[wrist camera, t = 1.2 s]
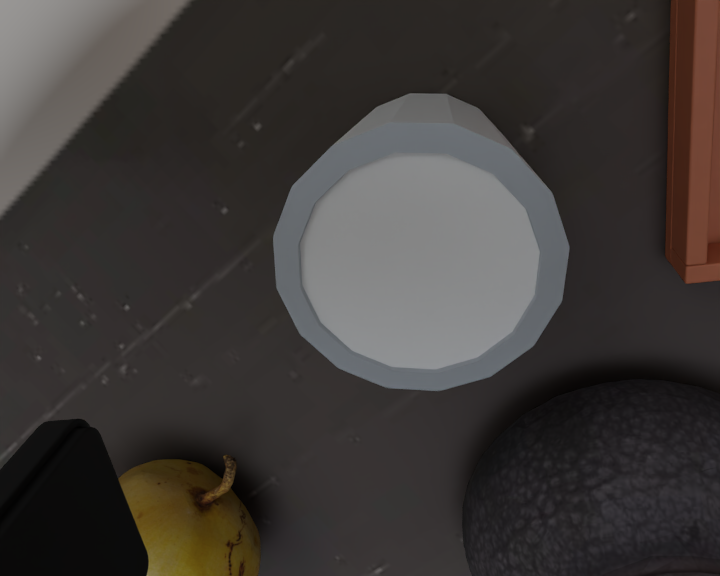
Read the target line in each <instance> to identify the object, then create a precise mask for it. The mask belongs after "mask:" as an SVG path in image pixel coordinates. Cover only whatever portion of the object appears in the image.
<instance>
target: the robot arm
mask: <svg viewBox="0 0 720 576" xmlns="http://www.w3.org/2000/svg"><path fill="white" fill-rule="evenodd" d="M148 566H149V559H148V553H147V550H146V548H145V545H144V543H143V540H142V538H141V535H140V533H139V530H138V528H137V525H136V523H135V520H134V518H133V515H132V513H131V510H130V508H129V505H128V503H127V500H126V498H125V495H124V493H123V490H122V488H121V485H120V483H119V480H118V477H117V475H116V472H115V470H114V467H113V465H112V462H111V460H110V457H109V455H108V452H107V450H106V447H105V445H104V442H103V440H102V437H101V435H100V433H99V431H98V430H97V429H95V428H93V427H90V425H89V424H88V423H87V422H86V421H85V420H82V419H71V420H58V421H48V422H44V423H43V424H41V425H40V426H39V427H38V428H37V429H36V430H35V431H34V433H33V434H32V435H31V436H30V437H29V438H28V439H27V440H26V442H25V443H24V444H23V445H22V446H21V447H20V448H19V449H18V450H17V452H16V453H15V454H14V455H13V456H12V457H11V458H10V459H9V461H8V462H7V463H6V464H5V465H4V466H3V467H2V468H1V470H0V576H147V572H148Z"/></svg>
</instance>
